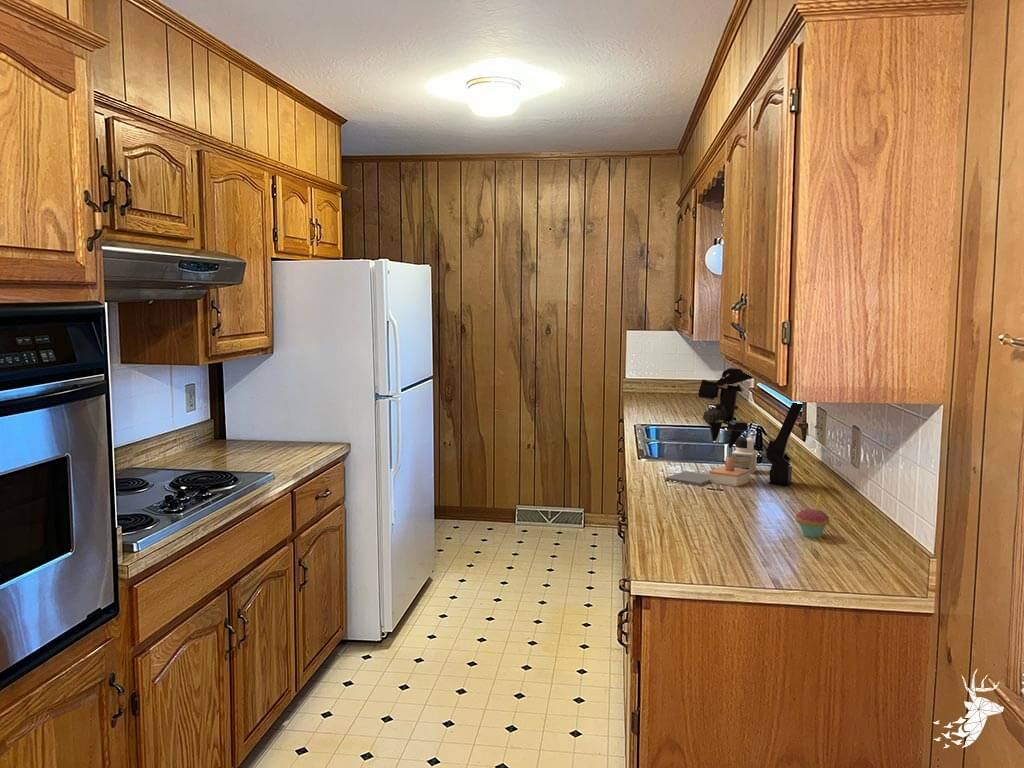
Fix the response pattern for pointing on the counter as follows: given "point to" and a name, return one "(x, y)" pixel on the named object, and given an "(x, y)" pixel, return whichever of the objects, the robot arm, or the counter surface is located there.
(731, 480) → the dish
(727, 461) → the lid
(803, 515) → the cupcake
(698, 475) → the trivet
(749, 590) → the counter surface
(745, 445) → the container
